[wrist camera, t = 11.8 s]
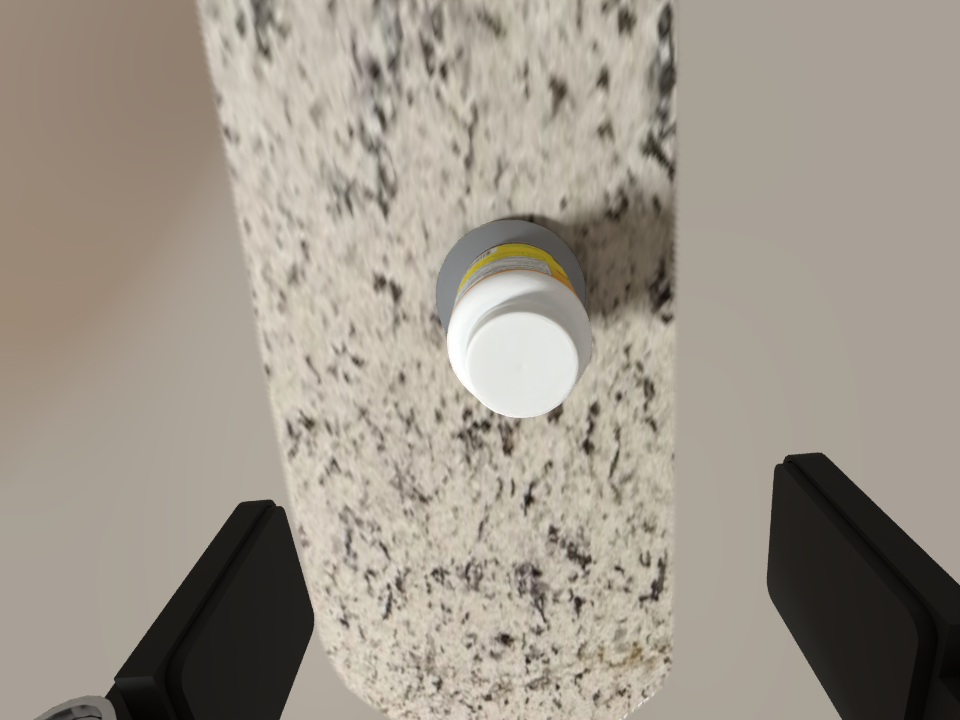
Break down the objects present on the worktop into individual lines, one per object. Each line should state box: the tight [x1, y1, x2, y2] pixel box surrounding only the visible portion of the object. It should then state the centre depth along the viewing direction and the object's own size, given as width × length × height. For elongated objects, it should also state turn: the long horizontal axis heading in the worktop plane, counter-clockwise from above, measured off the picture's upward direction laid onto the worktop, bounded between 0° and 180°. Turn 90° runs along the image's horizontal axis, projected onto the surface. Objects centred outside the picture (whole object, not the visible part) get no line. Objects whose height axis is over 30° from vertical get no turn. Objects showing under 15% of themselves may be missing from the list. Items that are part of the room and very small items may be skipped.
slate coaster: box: [436, 219, 586, 334], centre depth 30 cm, size 8×8×1 cm
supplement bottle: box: [447, 242, 592, 418], centre depth 24 cm, size 6×6×10 cm
